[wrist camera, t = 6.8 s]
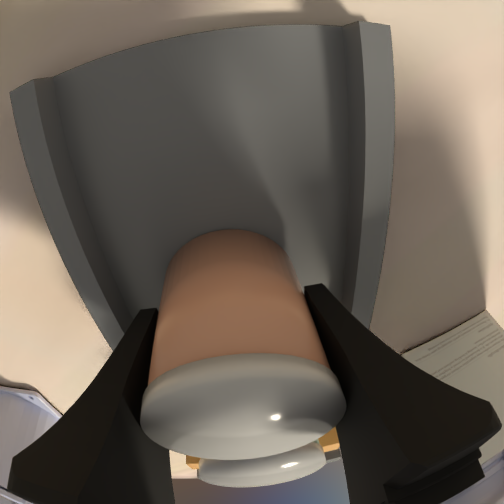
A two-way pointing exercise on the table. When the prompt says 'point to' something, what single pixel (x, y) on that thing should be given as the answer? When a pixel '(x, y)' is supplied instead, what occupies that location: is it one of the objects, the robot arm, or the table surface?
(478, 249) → the table surface
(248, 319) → the jar
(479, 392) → the skincare box
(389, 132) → the grey rectangular tray
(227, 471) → the jar
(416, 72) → the table surface
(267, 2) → the table surface
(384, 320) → the table surface
